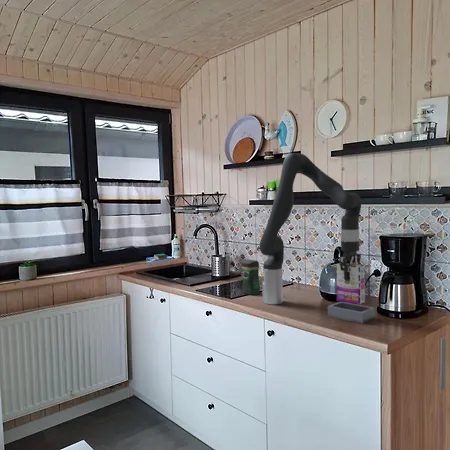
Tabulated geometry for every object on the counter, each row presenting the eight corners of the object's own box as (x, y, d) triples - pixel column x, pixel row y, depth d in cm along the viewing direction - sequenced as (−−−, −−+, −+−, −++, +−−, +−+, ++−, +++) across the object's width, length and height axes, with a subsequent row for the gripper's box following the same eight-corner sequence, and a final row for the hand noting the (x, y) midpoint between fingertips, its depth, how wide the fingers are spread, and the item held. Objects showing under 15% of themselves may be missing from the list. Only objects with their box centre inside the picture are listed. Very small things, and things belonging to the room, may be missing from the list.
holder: (327, 316, 182) (327, 306, 182) (340, 311, 189) (340, 301, 189) (362, 323, 170) (362, 313, 170) (374, 318, 177) (374, 307, 177)
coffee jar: (262, 293, 228) (261, 259, 226) (251, 296, 223) (250, 261, 222) (250, 290, 235) (249, 258, 234) (239, 293, 230) (239, 259, 229)
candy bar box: (365, 302, 177) (365, 264, 176) (360, 305, 173) (359, 266, 172) (342, 298, 185) (341, 262, 184) (336, 301, 181) (335, 263, 180)
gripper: (351, 237, 185) (351, 275, 186) (333, 240, 175) (333, 280, 176) (366, 238, 179) (366, 277, 181) (349, 242, 170) (349, 283, 171)
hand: (350, 279), depth 178 cm, fingers closed on candy bar box, 5 cm apart
